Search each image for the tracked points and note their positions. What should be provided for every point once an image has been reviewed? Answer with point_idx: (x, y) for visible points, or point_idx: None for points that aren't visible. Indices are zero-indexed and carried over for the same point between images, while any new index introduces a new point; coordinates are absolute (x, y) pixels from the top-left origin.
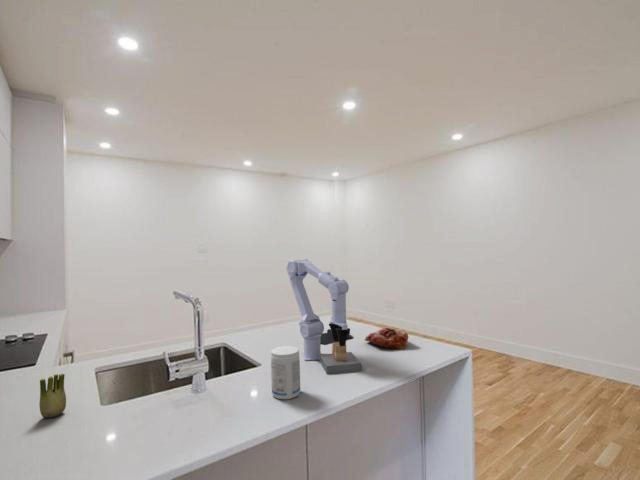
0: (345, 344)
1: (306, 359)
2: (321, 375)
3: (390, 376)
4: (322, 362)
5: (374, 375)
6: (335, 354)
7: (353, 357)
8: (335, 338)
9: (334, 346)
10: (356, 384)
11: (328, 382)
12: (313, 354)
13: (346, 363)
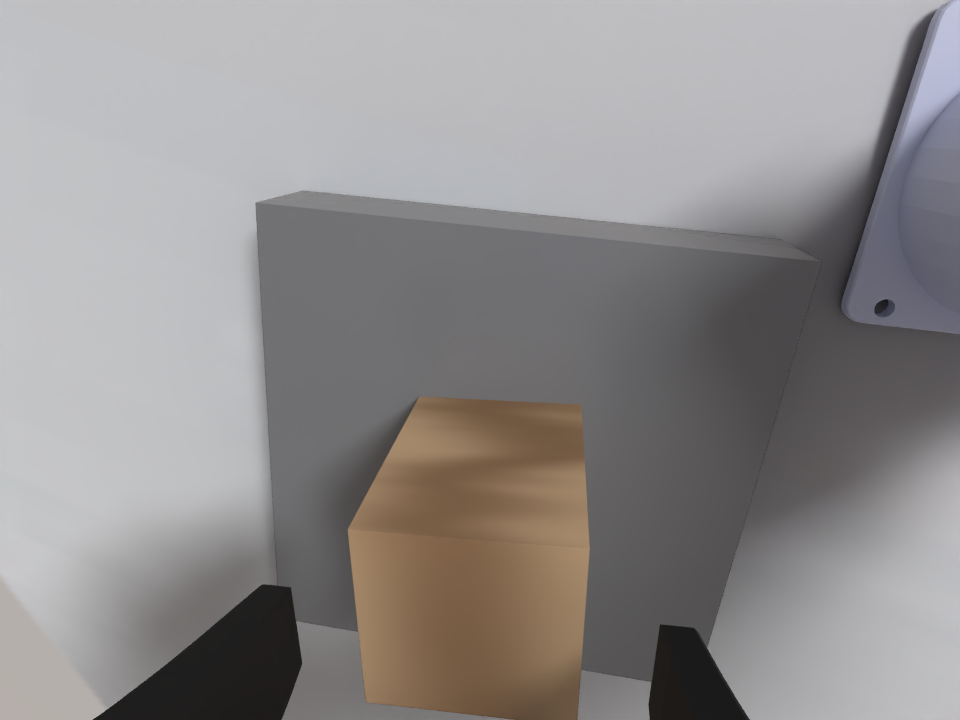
0: (396, 701)
1: (940, 29)
2: (267, 108)
3: None
4: (556, 225)
5: (187, 601)
6: (419, 439)
7: None
8: (663, 696)
9: (441, 514)
10: (3, 386)
11: (54, 130)
12: (949, 173)
13: (298, 478)
